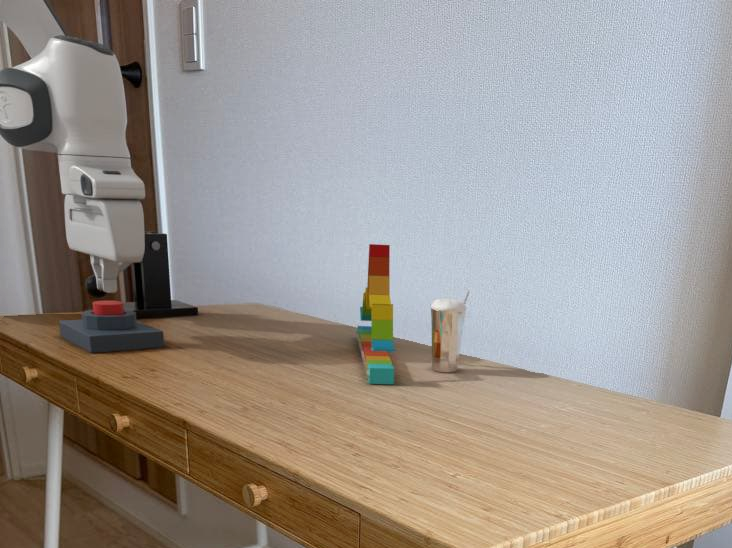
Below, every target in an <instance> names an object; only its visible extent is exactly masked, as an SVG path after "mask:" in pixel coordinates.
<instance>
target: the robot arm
mask: <svg viewBox="0 0 732 548" xmlns="http://www.w3.org/2000/svg"><path fill="white" fill-rule="evenodd" d="M0 22H2V23H3V24H4V25H5V26H6V27H7V28H8V29H10V31H11V32H13V34H14V35H15V37H17V38H18V40H19V41H20V43H21V45H22V46H23V48H24V50H25V51H26V52H27V54H28V55H29V57H30V58H31V59H29V60H27V61H25V62H22V63H20V64H18V65H15V66H12V67H5V68H3V69H1V70H0V136H1V138H2V139H3V140H4V141H5V142H6V143H8V144H9V145H11V146H13V147H16V148H19V149H22V150H28V151H34V152H46V153H55V154H57V160H58V170H59V178H60V179H59V180H60V188H61V194H62V195H65V197H64V204H63V205H64V225H65V237H66V242H67V246H68V248H69V249H70V250H71V251H76V252H79V253H82V254H86V255H89V258H90V265H91V268H92V270H93V274H95V276H96V282H97V288H98V289H99V290H101V291H104V292H106V293H107V294H115V293H117V292H118V281H117V280H118V276H119V274H118V270H119V263H134V262H141V261H142V259H143V255H144V250H145V238H144V232H145V218H144V217H145V216H144V208H143V204H142V202H141V201H142V200H145V198H146V187H145V183H144V181H143V180H142V179H141V178H140V177H139V176H138V175H137V174H136V173H135V171H134V169H133V168H132V161H131V154H130V151H129V147H128V145H127V140H126V132H127V131H126V130H127V125H128V112H127V111H128V110H127V103H126V101H127V100H126V93H125V86H124V79H123V75H122V70H121V67H120V63H119V60H118V59H117V56H116V54H115V53H114V51H113V50H111V48H109V47H108V46H106V45H105V44H102V43H99V42H95V41H91V40H88V39H87V40H86V39H81V38H78V37H74V36H71V35H70V33H69V32H68V30H67V29H66V26H64V24H63V21H61V19H60V17H59V16H58V14H57V12H56V11H55V9H54V7H53V6H52V5H51V3H50V1H49V0H0Z"/></svg>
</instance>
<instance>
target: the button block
mask: <svg viewBox="0 0 732 548" xmlns="http://www.w3.org/2000/svg"><path fill="white" fill-rule="evenodd" d="M58 325H59V333H60V338H62V339H65V340H66V341H68V342H70V343H72V344H74V345H75V346H77V347H80V348H81V349H83V350H85V351H87V352H88V353H91V354H96V353H99V354H100V353H110V352H111V353H112V352H122V351H124V352H125V351H135V350H150V349H159V348H160V349H161V348H165V338H164V331H163V330H161V329H159V328H156V327H153V326H151V325H149V324H146V323H144V322H141V321H140V320H137V319H136V312H133V311H131V310H124V314H122V315H96V314H94V312H93V309H87V310H84V311H82V312H81V319H70V320H68V319H67V320H58Z"/></svg>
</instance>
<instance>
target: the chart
mask: <svg viewBox="0 0 732 548" xmlns="http://www.w3.org/2000/svg"><path fill="white" fill-rule="evenodd" d="M390 251H391V250H390V244H375V243H374V244H373V243H369V244H368V264H367V265H368V266H367V283H366V284H367V286H366V287H365V289H364V290H365V291H364V292H362V293H363V295H362V306H359V313H360V322H361V321H362V322H364V321H365V322H371V325H370V326H369V325H357V329H356V331H355V332H356V334H355V335H356V340H357V343H358V349H359V351H360V355H361V359H362V363H363V367H364V370H365V374H366V377H367V380H368V383H369V385H394V384H395V366H394V364H393V362H392V360H391V357H390V355H389V353H390V352H391V353H392V352H394V353H395V352H396V348H395V347H394V304H392V302H391V294H390V292H391V291H390V286H391V285H390V284H391V283H390V282H391V281H390V280H391V279H390V277H391V275H390V257H391V256H390ZM388 352H389V353H388Z"/></svg>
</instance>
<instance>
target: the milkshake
mask: <svg viewBox="0 0 732 548" xmlns="http://www.w3.org/2000/svg"><path fill="white" fill-rule="evenodd" d="M470 294H471V290H467V293H466V295H465V298H464V300H463V301H461V300H456V299H455V298H446V297H445V298H437V299H434V301H433V302H432V303H431V304H430V326H431V369H432V370H433V371H434V372H439V373H455V372H457V371H458V366H459V359H460V352H461V345H462V338H463V330H464V325H465V319H466V314H467V305H466V304H467V301H468V299H469V296H470Z"/></svg>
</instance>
